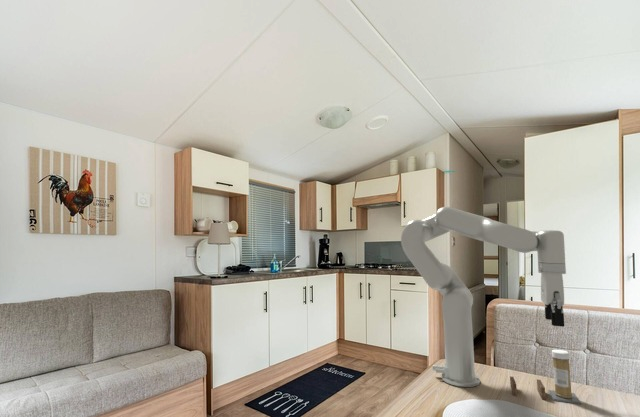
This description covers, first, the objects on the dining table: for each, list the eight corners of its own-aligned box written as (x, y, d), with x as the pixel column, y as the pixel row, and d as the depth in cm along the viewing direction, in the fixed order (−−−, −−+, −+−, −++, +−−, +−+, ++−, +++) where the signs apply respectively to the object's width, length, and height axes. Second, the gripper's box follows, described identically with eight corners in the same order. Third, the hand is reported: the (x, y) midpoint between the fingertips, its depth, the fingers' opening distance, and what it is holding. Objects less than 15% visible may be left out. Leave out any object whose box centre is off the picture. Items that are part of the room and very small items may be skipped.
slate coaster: (553, 400, 109) (553, 398, 109) (548, 391, 116) (548, 389, 116) (581, 404, 106) (580, 402, 107) (574, 395, 113) (574, 393, 113)
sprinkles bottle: (574, 396, 110) (571, 351, 112) (568, 400, 108) (564, 354, 109) (558, 391, 114) (555, 348, 116) (551, 394, 112) (548, 350, 113)
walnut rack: (513, 395, 113) (512, 383, 113) (510, 387, 119) (509, 376, 120) (545, 399, 110) (544, 387, 110) (540, 390, 116) (540, 379, 117)
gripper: (533, 266, 125) (536, 316, 124) (543, 270, 109) (546, 327, 108) (559, 267, 122) (561, 318, 121) (572, 271, 106) (576, 330, 105)
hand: (554, 322), depth 114 cm, fingers open, 9 cm apart
